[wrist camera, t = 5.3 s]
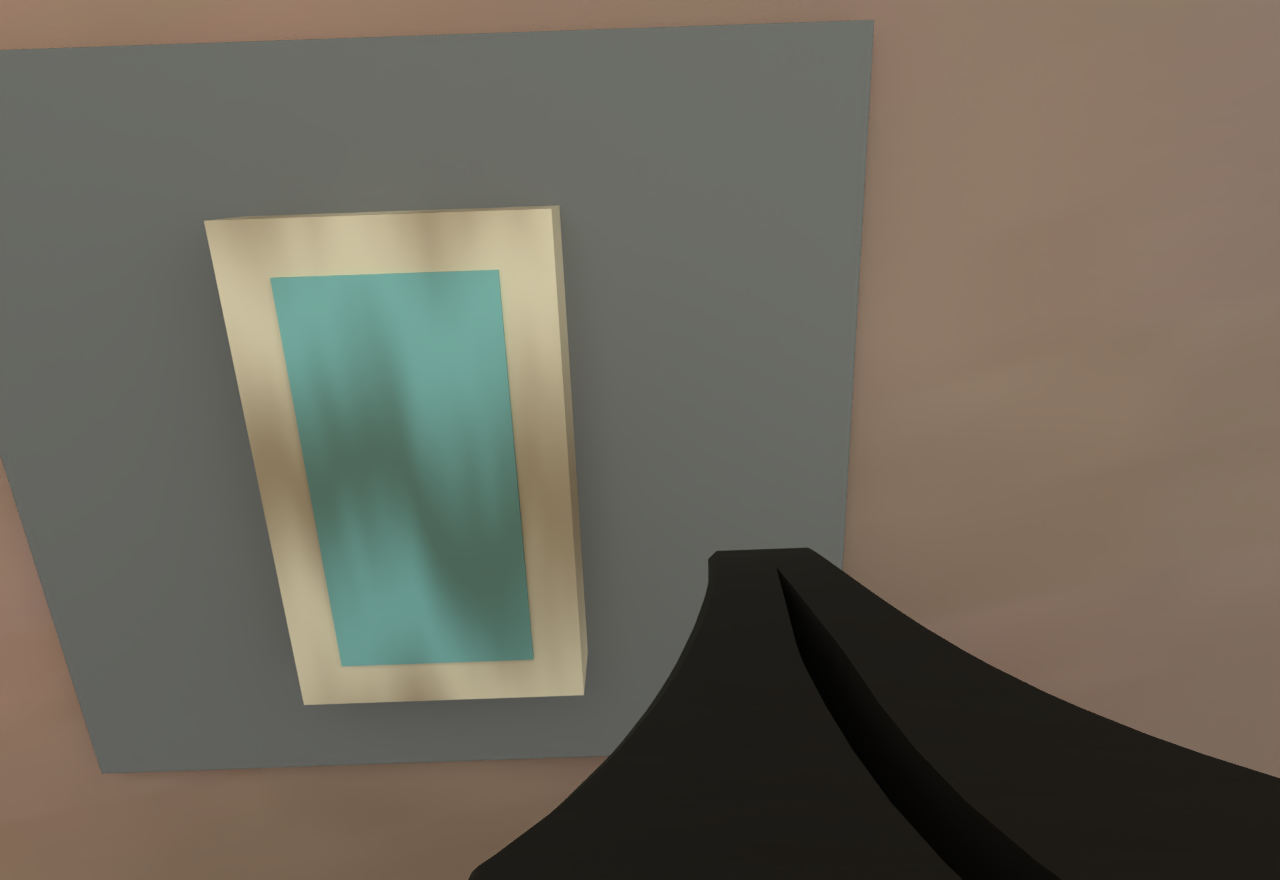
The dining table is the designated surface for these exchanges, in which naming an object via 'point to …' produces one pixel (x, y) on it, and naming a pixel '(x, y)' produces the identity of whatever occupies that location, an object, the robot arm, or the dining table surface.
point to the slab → (413, 446)
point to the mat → (406, 181)
